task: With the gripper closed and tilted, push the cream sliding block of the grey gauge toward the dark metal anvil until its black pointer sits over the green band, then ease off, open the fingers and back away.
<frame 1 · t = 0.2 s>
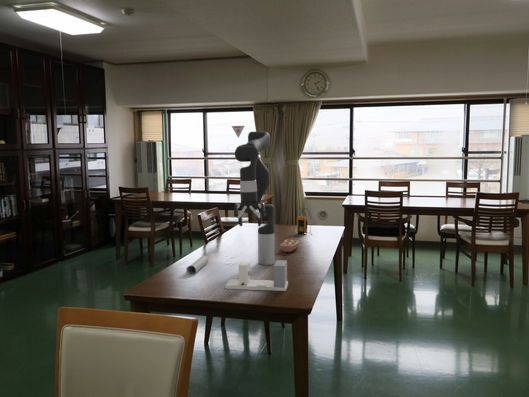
hand: (250, 225, 201), 29 cm above the table, tool pointing down, fingers open, 8 cm apart
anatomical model: (290, 250, 281), on the table
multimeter: (304, 233, 334), on the table
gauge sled: (245, 273, 206), point 6 cm above the table, slide at 0.0 cm
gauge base: (257, 286, 207), on the table
tube: (198, 269, 239), on the table
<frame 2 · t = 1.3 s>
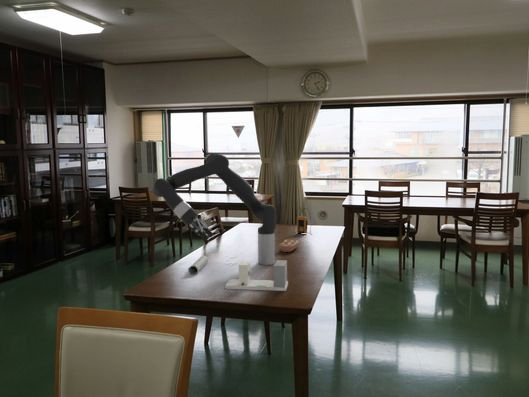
hand: (209, 237, 208), 23 cm above the table, tool tilted 45°, fingers open, 7 cm apart
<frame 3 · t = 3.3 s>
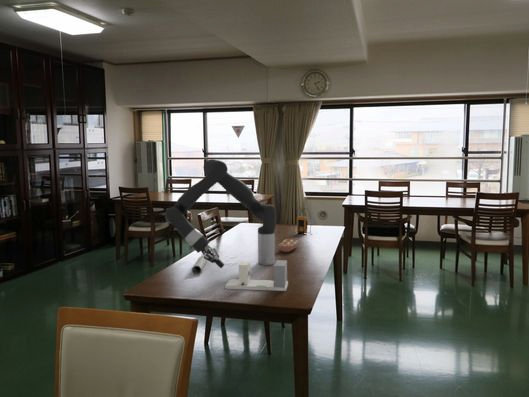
hand: (222, 266, 209), 9 cm above the table, tool tilted 45°, fingers closed
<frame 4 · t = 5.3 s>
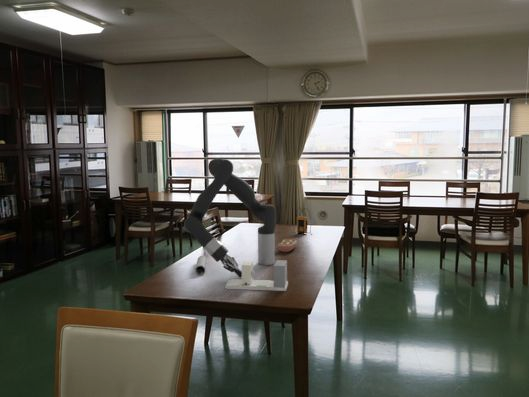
hand: (241, 275, 208), 5 cm above the table, tool tilted 45°, fingers closed
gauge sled: (248, 273, 206), point 6 cm above the table, slide at 1.4 cm, touching gripper
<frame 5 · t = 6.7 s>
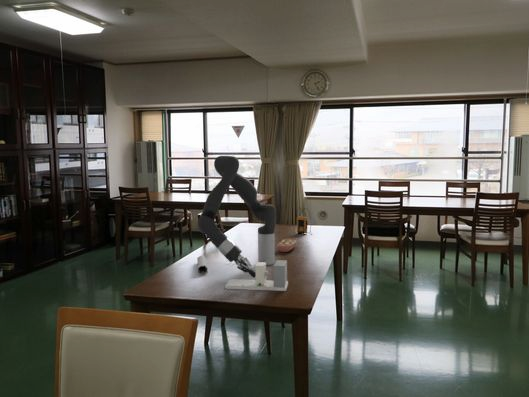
hand: (255, 276, 207), 5 cm above the table, tool tilted 45°, fingers closed
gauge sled: (261, 274, 205), point 6 cm above the table, slide at 7.9 cm, touching gripper
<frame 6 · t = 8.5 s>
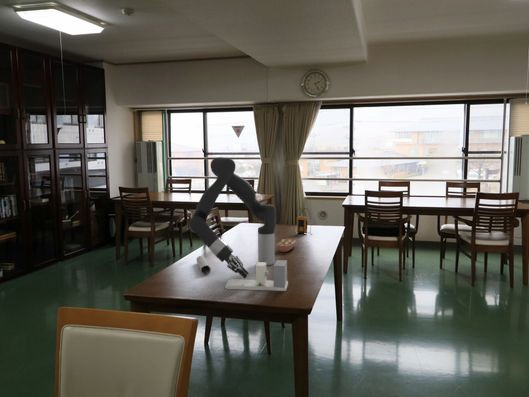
hand: (246, 275, 207), 5 cm above the table, tool tilted 45°, fingers closed
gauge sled: (262, 274, 205), point 6 cm above the table, slide at 8.0 cm
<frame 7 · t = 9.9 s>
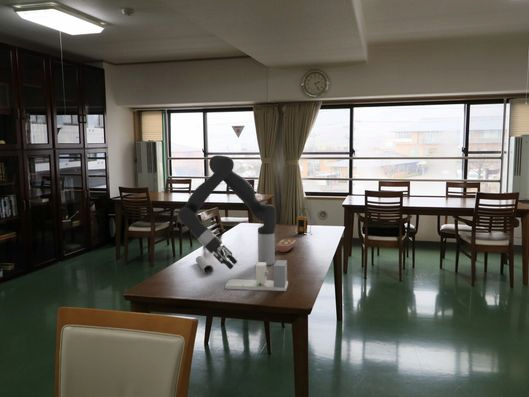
hand: (234, 265, 207), 10 cm above the table, tool tilted 45°, fingers open, 8 cm apart
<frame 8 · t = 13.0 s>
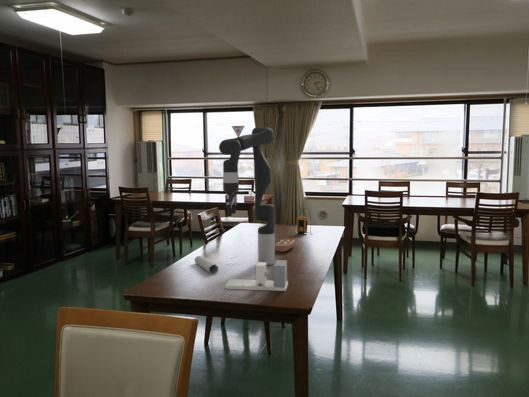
hand: (231, 214, 215), 32 cm above the table, tool pointing down, fingers open, 8 cm apart
at the end: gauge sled slide at 8.0 cm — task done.
